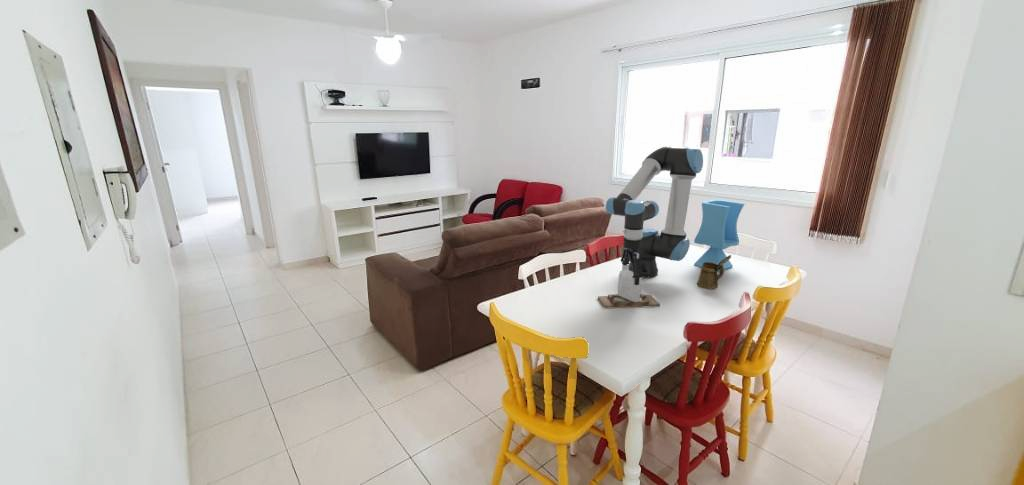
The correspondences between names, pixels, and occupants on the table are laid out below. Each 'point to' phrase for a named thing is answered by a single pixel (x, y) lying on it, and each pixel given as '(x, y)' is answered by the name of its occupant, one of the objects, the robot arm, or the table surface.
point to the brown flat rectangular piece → (627, 301)
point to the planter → (718, 230)
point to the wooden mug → (711, 274)
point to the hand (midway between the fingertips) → (629, 284)
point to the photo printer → (627, 286)
